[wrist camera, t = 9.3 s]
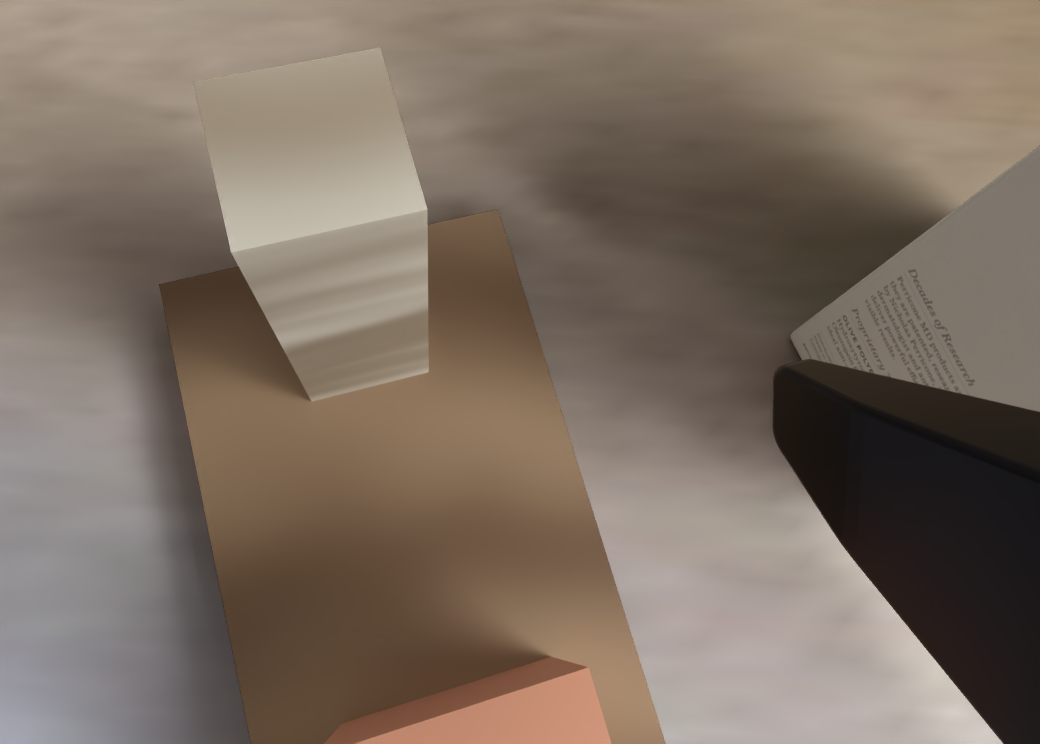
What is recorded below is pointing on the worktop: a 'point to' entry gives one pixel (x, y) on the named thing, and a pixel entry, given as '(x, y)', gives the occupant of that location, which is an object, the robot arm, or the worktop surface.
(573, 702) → the cube
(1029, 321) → the skincare box
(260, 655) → the wooden base with post
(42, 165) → the worktop surface
